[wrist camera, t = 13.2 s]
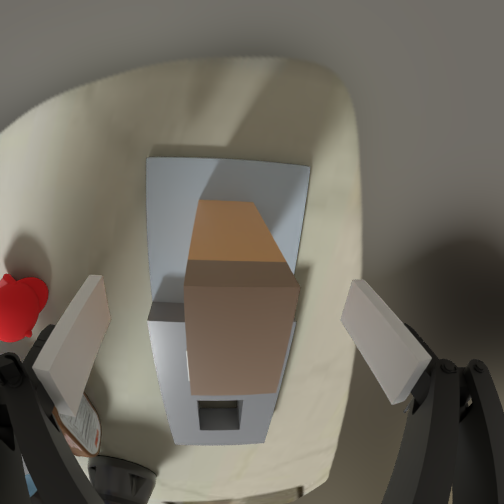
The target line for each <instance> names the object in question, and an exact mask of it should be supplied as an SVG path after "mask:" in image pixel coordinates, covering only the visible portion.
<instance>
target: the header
mask: <svg viewBox="0 0 504 504" xmlns="http://www.w3.org/2000/svg"><path fill="white" fill-rule="evenodd" d="M147 322H148V329H149V335H150V341H151V346H152V352H153V357H154V362H155V367H156V372H157V377H158V382H159V386H160V390H161V395H162V399H163V403H164V407H165V411H166V415H167V419H168V422H169V426H170V429H171V433H172V436H173V440H174V443H175V444H177V445H242V444H257V443H264V442H265V438H266V435H267V432H268V429H269V425H270V422H271V418H272V415H273V411H274V408H275V404H276V401H277V397H278V394H279V390H280V386H281V382H282V379H283V375H284V371H285V367H286V363H287V359H288V355H289V351H290V347H291V343H292V339H293V334H294V330H295V326H296V320H295V318H294V320H293V325H292V329H291V334H290V338H289V343H288V347H287V351H286V355H285V359H284V364H283V368H282V372H281V376H280V380H279V384H278V387H277V391H276V393H269V394H253V395H220V396H207V395H191V390H190V380H189V369H188V358H187V345H186V330H185V312H184V303H172V302H152V306H151V309H150V313H149V316H148V320H147ZM228 400H237V408H199V401H228Z"/></svg>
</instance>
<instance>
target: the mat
mask: <svg viewBox="0 0 504 504" xmlns="http://www.w3.org/2000/svg"><path fill="white" fill-rule="evenodd" d="M309 175H310V167H309V166H304V165H295V164H286V163H276V162H266V161H254V160H240V159H223V158H199V157H148V158H146V214H147V240H148V256H149V270H150V281H151V291H152V301H153V302H172V303H184V288H183V286H184V279H185V273H186V266H187V260H188V254H189V249H190V243H191V237H192V232H193V226H194V221H195V216H196V211H197V206H198V201H199V200H221V201H242V202H253V203H254V204H255V206H256V208H257V210H258V211H259V213H260V215H261V217H262V219H263V220H264V222H265V224H266V226H267V227H268V229H269V231H270V233H271V235H272V236H273V238H274V240H275V242H276V244H277V245H278V247H279V249H280V251H281V253H282V254H283V256H284V258H285V260H286V262H287V263H288V265H289V267H290V269H291V271H292V273H293V274H294V271H295V266H296V260H297V254H298V248H299V242H300V236H301V230H302V223H303V217H304V210H305V203H306V196H307V189H308V182H309Z"/></svg>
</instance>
